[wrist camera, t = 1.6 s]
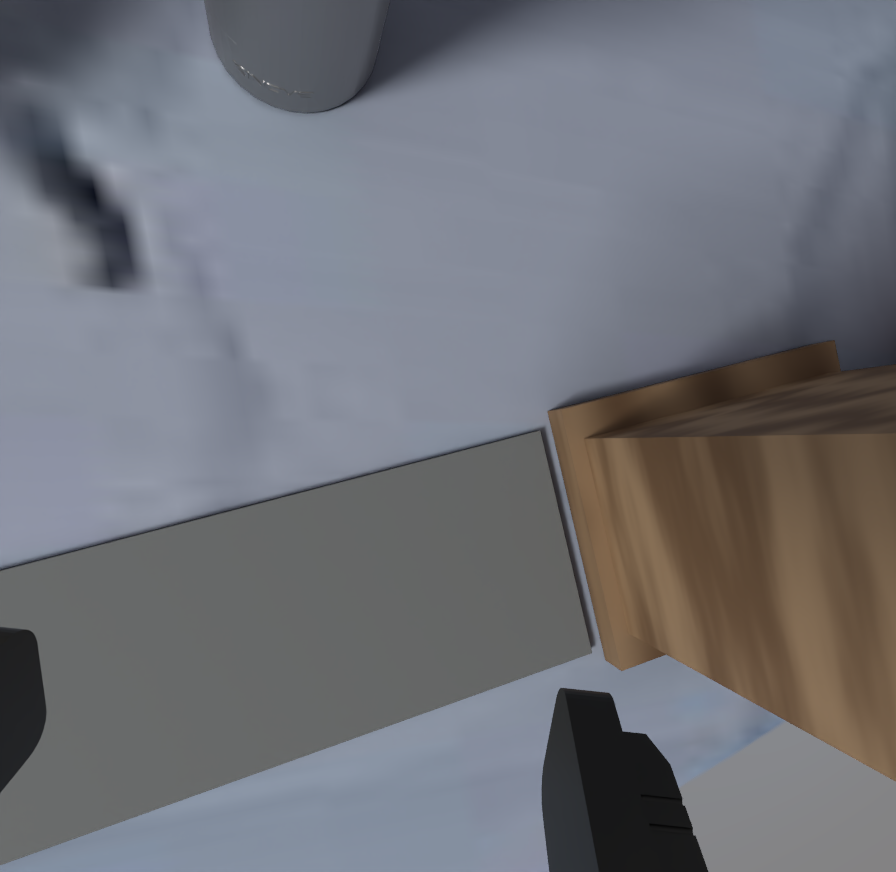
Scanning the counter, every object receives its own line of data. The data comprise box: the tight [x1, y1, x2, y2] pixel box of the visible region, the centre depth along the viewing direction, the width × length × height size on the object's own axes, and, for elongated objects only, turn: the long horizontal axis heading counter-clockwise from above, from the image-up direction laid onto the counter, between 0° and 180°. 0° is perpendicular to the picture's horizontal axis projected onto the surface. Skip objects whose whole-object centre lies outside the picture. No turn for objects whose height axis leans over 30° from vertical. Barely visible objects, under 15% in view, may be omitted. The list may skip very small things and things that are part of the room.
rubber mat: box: [0, 431, 592, 865], centre depth 34 cm, size 42×14×1 cm, turn 104°
